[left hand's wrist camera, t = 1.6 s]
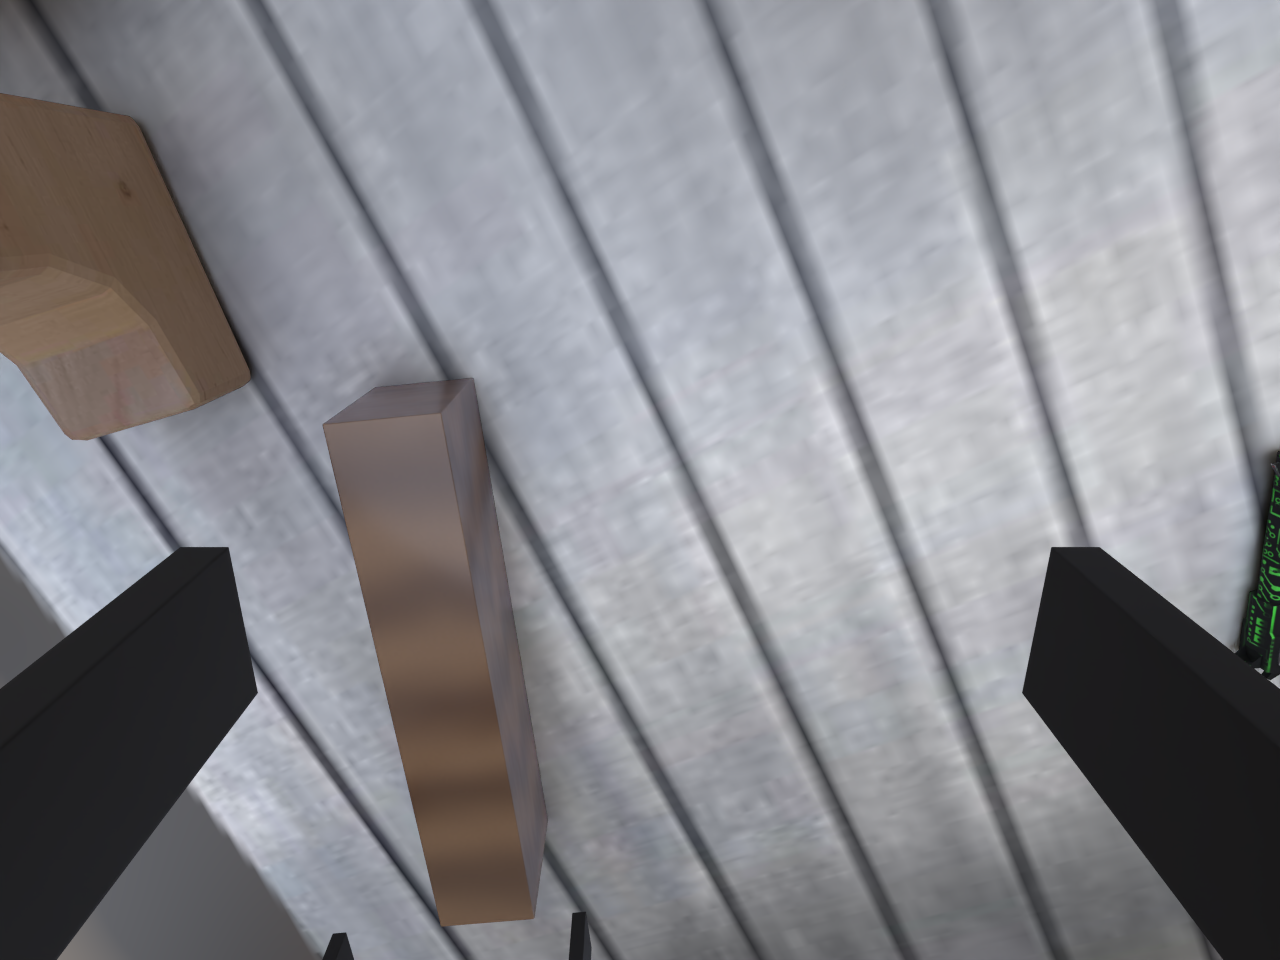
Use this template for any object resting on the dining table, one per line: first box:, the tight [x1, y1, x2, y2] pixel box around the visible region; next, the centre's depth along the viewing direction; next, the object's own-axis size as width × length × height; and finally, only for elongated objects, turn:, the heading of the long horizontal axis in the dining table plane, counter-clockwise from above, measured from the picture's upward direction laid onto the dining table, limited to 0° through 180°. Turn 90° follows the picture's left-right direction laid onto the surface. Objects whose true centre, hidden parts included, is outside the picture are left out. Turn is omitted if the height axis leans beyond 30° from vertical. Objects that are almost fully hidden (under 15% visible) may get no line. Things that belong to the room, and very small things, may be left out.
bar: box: [323, 378, 548, 926], centre depth 48 cm, size 33×6×8 cm, turn 6°
